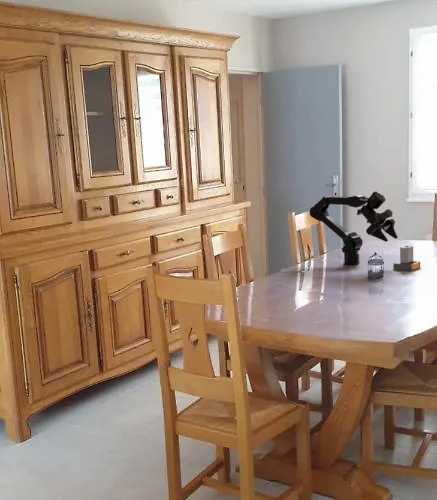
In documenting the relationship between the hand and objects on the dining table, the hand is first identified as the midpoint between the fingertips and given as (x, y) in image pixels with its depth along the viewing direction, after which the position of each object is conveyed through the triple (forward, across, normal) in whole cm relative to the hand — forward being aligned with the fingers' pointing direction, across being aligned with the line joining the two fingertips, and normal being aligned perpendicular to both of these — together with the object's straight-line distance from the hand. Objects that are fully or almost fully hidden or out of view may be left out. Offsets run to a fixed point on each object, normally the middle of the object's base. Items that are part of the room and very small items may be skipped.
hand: (392, 239), depth 310 cm
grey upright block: (+14, 0, +4) cm, 15 cm away
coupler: (+15, 0, +4) cm, 15 cm away
